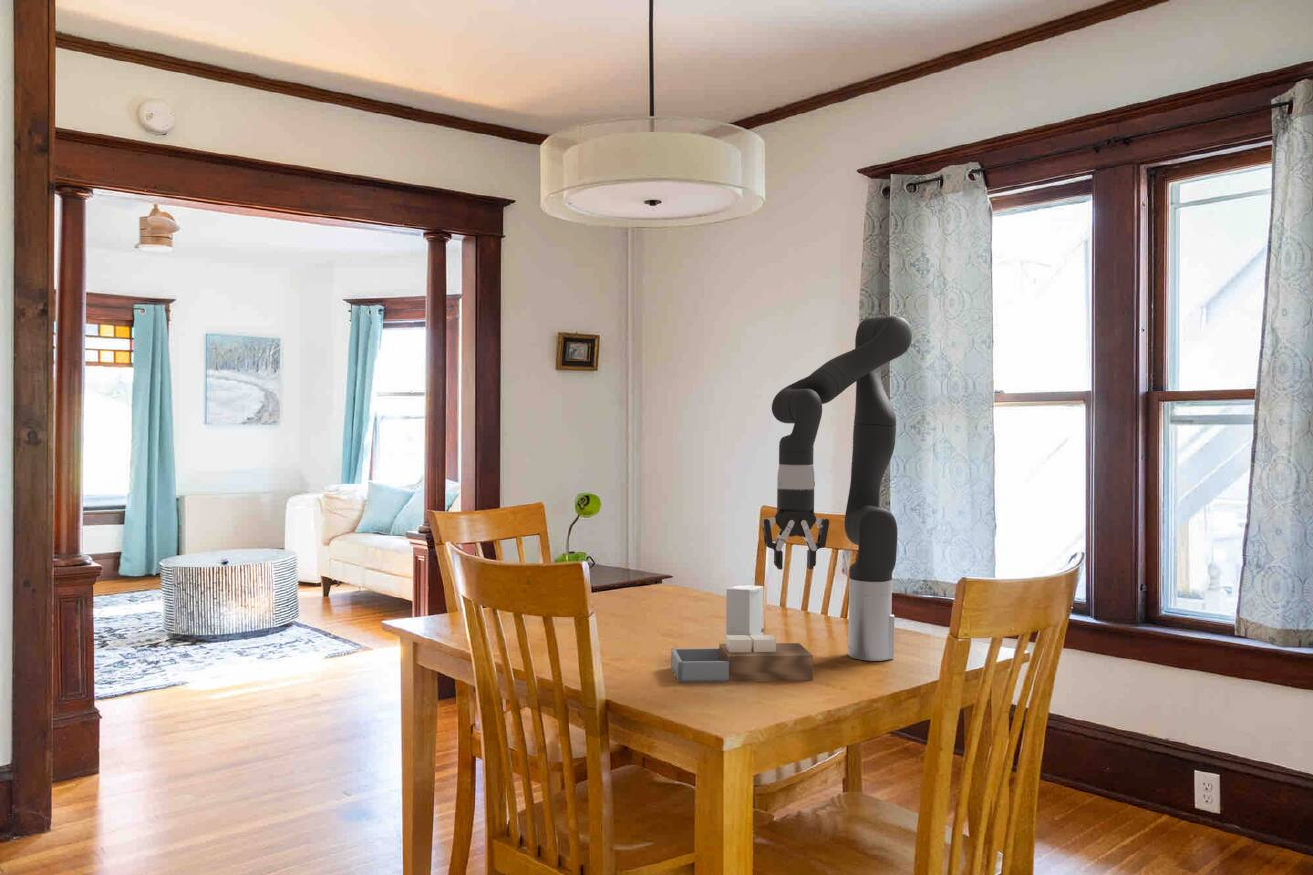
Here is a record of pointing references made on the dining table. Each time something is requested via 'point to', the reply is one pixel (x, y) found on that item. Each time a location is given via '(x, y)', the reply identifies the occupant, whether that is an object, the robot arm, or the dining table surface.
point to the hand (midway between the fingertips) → (794, 568)
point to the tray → (698, 665)
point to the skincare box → (744, 610)
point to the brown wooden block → (769, 664)
